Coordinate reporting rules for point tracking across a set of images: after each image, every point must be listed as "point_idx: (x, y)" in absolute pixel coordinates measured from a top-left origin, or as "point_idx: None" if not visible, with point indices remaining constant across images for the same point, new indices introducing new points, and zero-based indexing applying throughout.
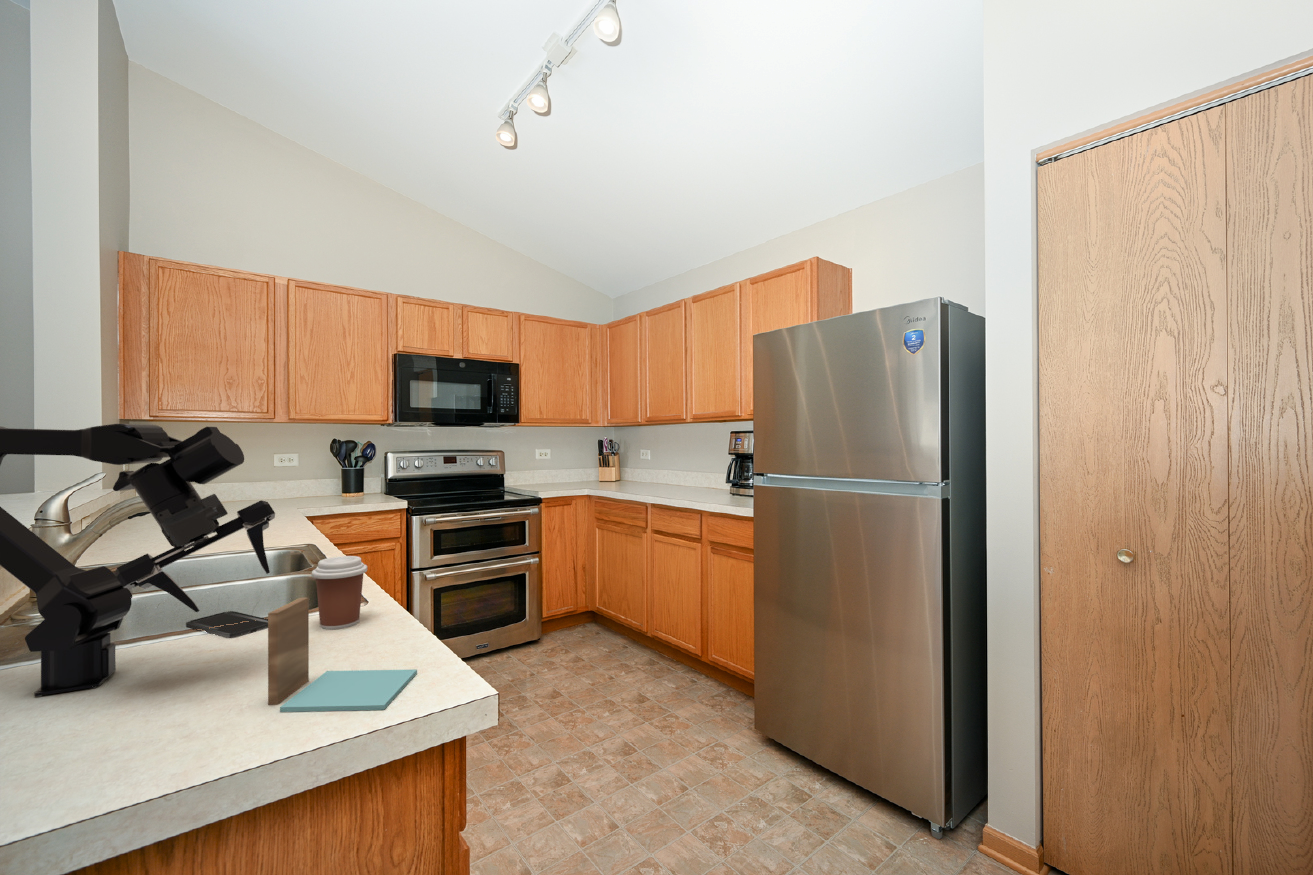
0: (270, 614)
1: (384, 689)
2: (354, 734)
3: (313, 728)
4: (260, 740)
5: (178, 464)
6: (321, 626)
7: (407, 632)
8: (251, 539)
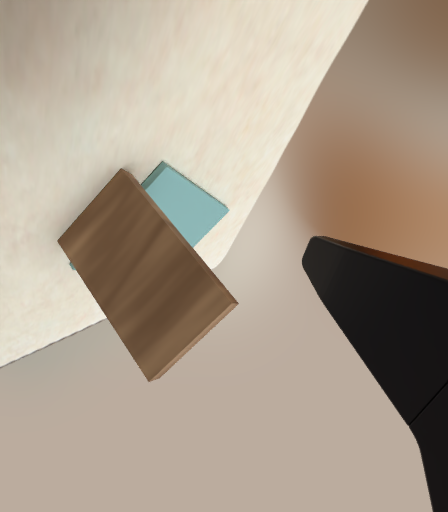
0: (150, 378)
1: None
2: None
3: (93, 300)
4: (38, 318)
5: None
6: None
7: (349, 11)
8: (422, 452)
